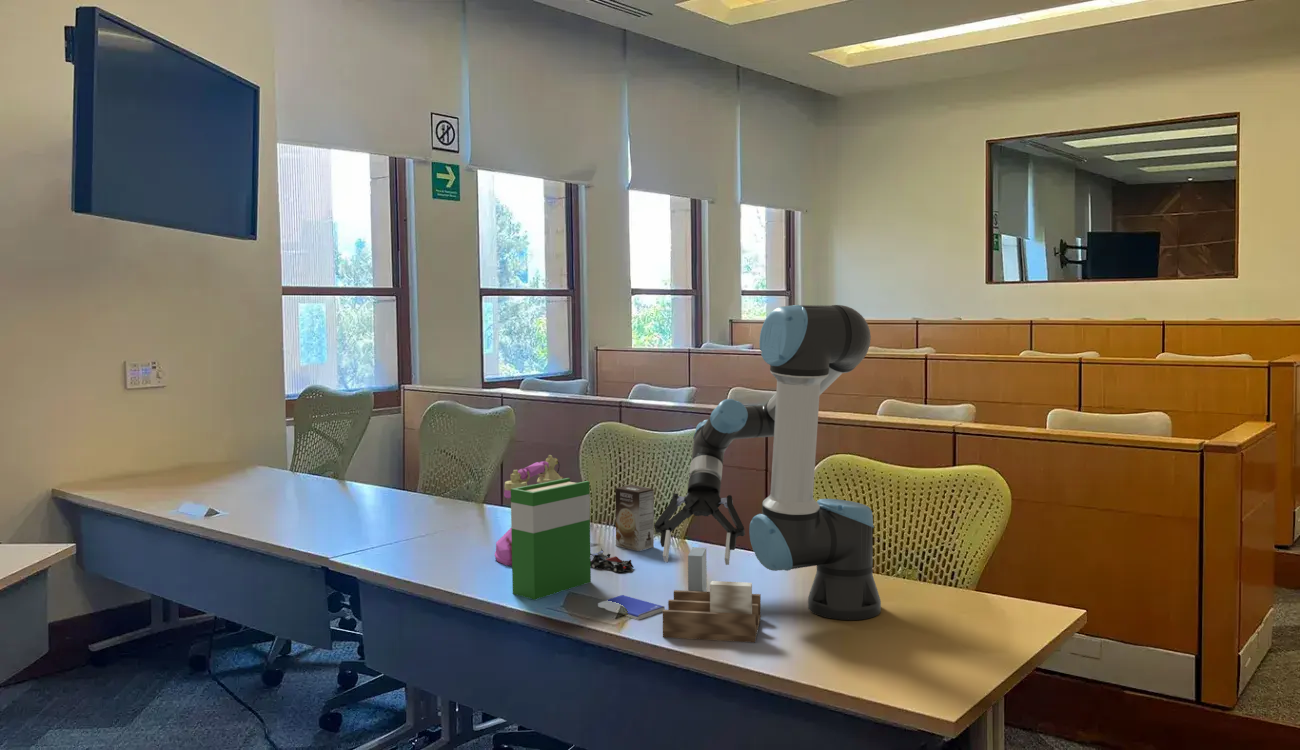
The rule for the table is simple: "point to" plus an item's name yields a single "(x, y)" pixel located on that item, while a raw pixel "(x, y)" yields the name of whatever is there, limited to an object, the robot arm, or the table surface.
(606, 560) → the toy car
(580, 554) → the hardback book
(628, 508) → the coffee box
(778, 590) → the table surface
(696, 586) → the grey upright pillar
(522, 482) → the telephone
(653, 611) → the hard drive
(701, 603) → the rack
